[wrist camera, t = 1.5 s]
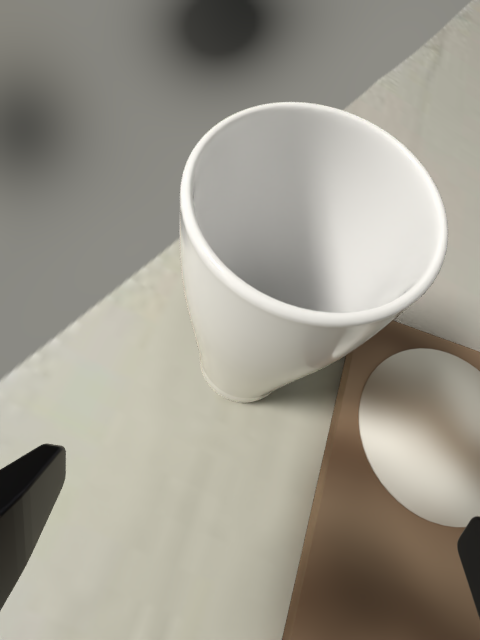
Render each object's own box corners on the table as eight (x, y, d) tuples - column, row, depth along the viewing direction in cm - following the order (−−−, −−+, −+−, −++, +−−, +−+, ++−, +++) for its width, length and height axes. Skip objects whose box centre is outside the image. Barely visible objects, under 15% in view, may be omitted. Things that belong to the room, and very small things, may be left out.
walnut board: (515, 773, 16) (543, 800, 15) (272, 680, 16) (279, 698, 15) (519, 376, 24) (537, 371, 23) (354, 316, 24) (363, 308, 23)
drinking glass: (310, 345, 23) (483, 171, 9) (263, 438, 21) (405, 390, 7) (222, 294, 24) (262, 62, 10) (166, 379, 21) (112, 224, 7)
